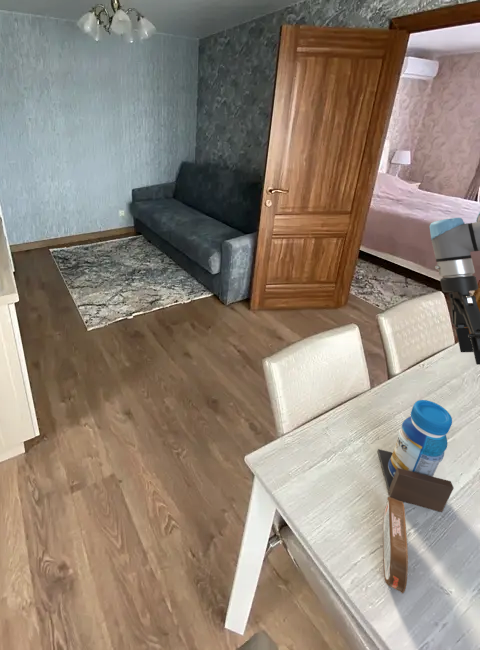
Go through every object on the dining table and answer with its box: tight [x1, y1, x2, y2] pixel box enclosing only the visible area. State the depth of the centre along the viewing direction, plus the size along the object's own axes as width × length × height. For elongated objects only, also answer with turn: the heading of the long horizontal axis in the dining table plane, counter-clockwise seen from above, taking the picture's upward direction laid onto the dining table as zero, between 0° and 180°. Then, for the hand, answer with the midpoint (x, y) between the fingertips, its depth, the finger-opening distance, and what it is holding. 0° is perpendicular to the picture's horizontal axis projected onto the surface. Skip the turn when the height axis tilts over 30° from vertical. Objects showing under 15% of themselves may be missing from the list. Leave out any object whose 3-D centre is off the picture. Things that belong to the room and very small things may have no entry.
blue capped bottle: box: [388, 399, 453, 477], centre depth 76 cm, size 8×8×20 cm
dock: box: [376, 448, 454, 513], centre depth 78 cm, size 12×10×8 cm
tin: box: [382, 496, 409, 594], centre depth 65 cm, size 15×3×8 cm, turn 152°
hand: (474, 357), depth 89 cm, fingers open, 13 cm apart
